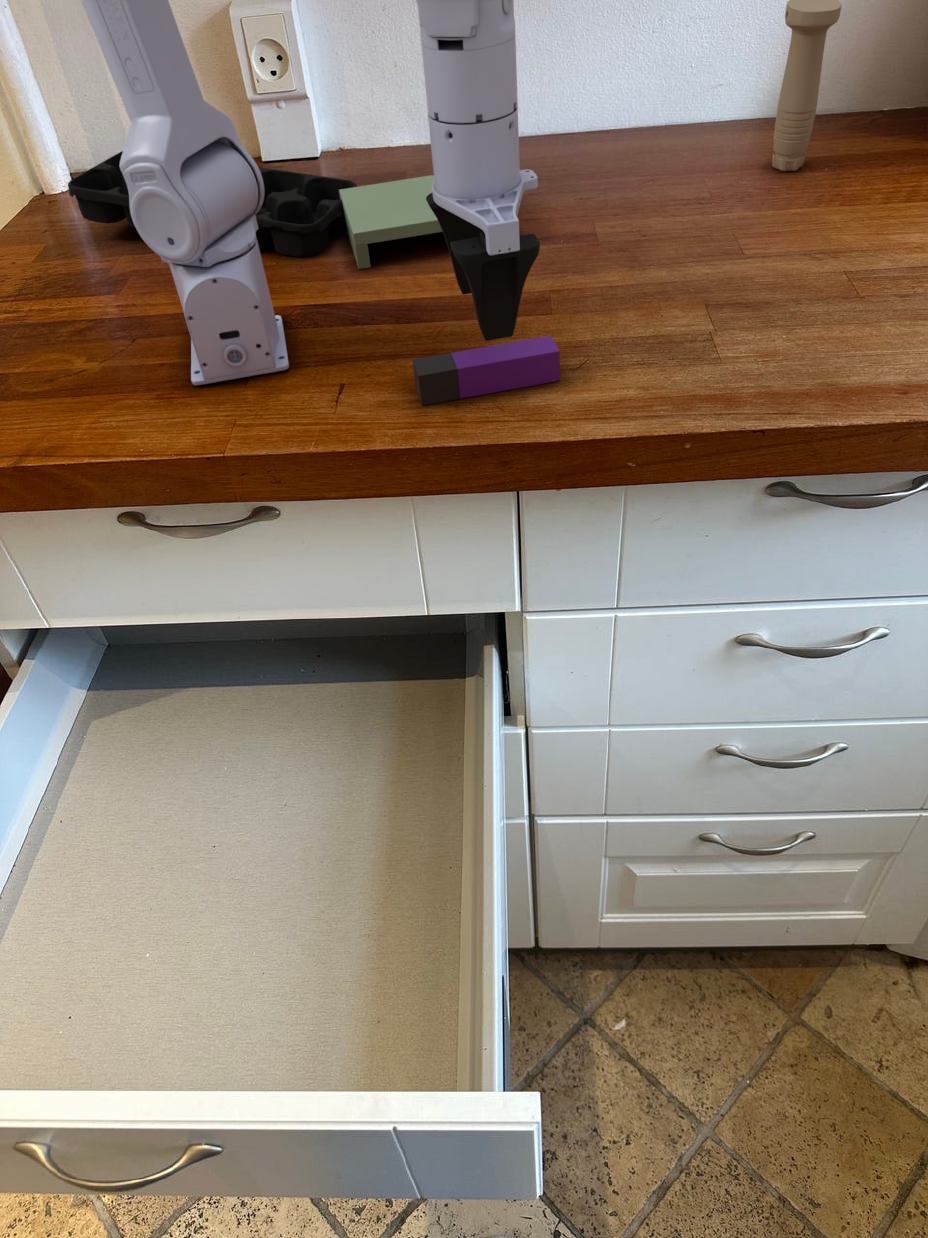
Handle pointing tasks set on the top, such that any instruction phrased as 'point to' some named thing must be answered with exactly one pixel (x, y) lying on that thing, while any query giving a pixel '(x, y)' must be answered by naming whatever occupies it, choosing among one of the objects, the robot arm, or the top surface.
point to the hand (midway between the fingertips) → (485, 312)
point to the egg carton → (286, 217)
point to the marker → (486, 370)
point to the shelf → (387, 213)
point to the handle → (801, 79)
